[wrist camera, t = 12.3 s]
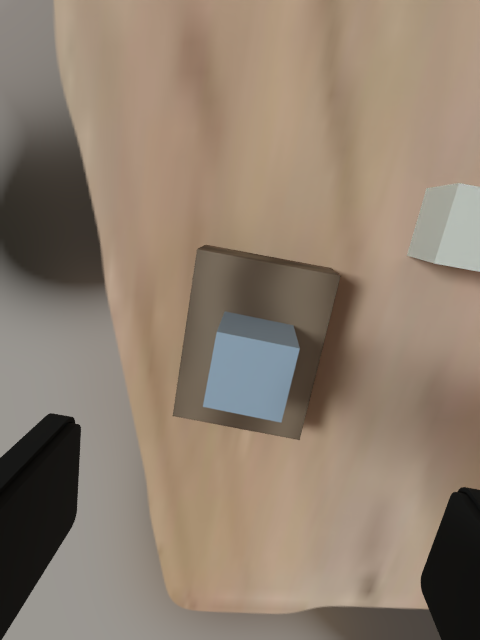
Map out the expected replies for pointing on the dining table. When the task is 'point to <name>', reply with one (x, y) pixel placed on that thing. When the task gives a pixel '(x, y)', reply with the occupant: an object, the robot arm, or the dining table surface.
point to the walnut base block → (260, 302)
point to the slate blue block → (252, 367)
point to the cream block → (449, 227)
